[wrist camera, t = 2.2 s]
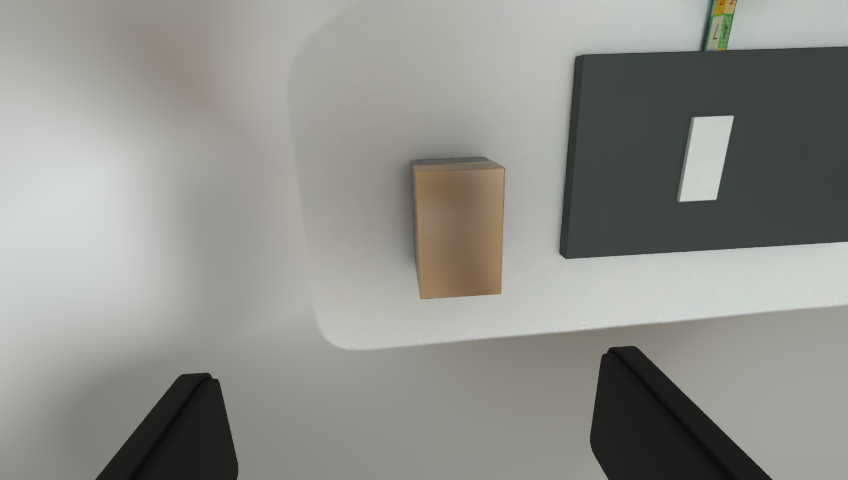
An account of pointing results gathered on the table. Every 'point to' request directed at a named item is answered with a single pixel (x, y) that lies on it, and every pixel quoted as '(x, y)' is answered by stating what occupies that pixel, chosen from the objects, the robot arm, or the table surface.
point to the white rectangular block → (704, 158)
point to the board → (744, 162)
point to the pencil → (719, 25)
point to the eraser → (458, 226)
